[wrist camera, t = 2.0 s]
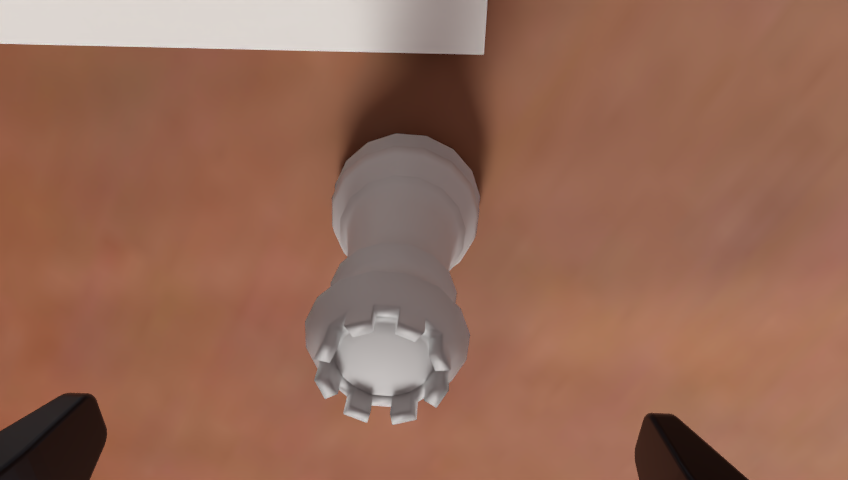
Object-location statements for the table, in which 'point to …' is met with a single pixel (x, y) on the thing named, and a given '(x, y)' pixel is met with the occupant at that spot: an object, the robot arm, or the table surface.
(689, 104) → the table surface
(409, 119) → the table surface
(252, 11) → the peg board
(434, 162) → the rook chess piece
